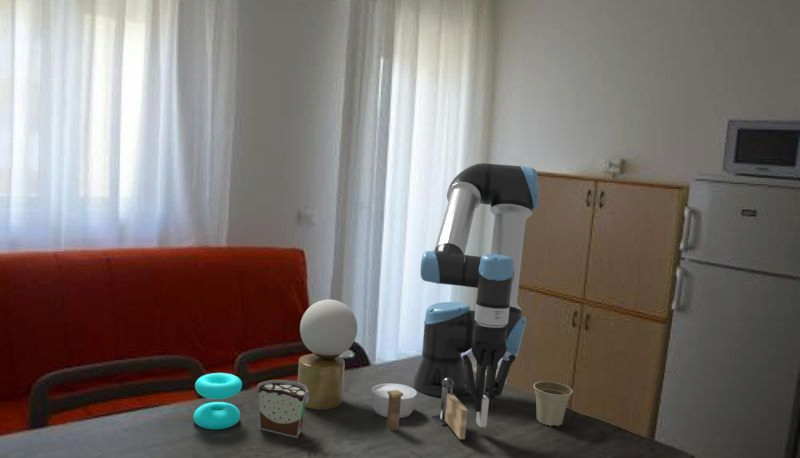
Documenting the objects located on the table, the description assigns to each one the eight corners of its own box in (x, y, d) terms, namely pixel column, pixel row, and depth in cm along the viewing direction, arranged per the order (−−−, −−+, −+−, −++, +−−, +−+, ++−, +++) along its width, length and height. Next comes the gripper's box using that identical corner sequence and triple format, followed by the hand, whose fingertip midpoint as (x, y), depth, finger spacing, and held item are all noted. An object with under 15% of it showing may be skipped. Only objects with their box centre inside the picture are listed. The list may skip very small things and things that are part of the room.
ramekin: (377, 400, 169) (378, 380, 168) (420, 407, 166) (421, 387, 166) (363, 415, 158) (365, 394, 157) (409, 423, 155) (411, 402, 155)
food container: (316, 429, 148) (319, 385, 147) (303, 439, 142) (306, 394, 141) (267, 418, 152) (270, 375, 151) (253, 427, 146) (256, 383, 145)
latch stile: (384, 427, 152) (387, 390, 151) (394, 425, 153) (397, 389, 152) (390, 431, 150) (393, 394, 149) (400, 430, 151) (403, 393, 150)
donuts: (242, 386, 143) (194, 386, 140) (240, 431, 144) (191, 432, 141) (241, 371, 152) (196, 371, 150) (239, 413, 153) (194, 413, 151)
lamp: (312, 384, 176) (319, 291, 173) (361, 395, 171) (368, 299, 168) (282, 402, 162) (288, 301, 159) (334, 414, 157) (341, 310, 154)
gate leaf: (444, 420, 157) (446, 393, 156) (449, 420, 157) (452, 393, 156) (459, 439, 147) (462, 410, 146) (465, 438, 147) (468, 410, 146)
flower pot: (569, 432, 158) (573, 397, 157) (529, 426, 160) (533, 391, 159) (568, 417, 167) (571, 384, 166) (530, 412, 169) (533, 379, 168)
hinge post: (431, 418, 159) (435, 375, 158) (447, 416, 162) (450, 373, 160) (441, 425, 156) (445, 381, 154) (457, 423, 158) (461, 379, 157)
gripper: (469, 327, 144) (459, 432, 146) (524, 328, 147) (514, 430, 150) (457, 319, 151) (448, 418, 154) (510, 319, 155) (500, 417, 157)
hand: (481, 424), depth 152 cm, fingers closed
